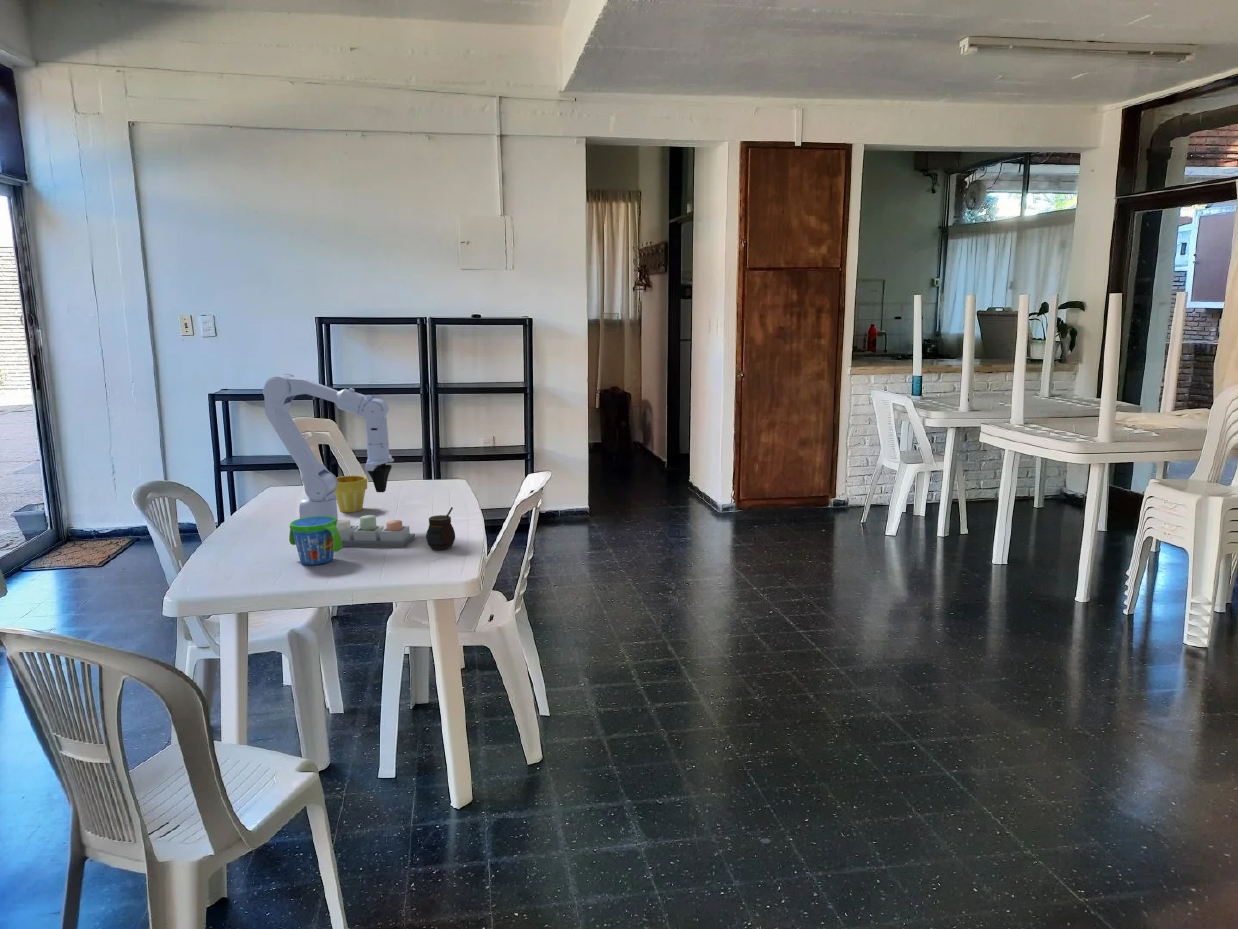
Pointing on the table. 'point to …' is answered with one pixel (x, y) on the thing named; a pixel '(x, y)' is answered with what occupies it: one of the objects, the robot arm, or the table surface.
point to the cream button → (343, 525)
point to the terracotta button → (394, 525)
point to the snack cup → (315, 539)
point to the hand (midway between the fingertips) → (381, 491)
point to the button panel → (376, 537)
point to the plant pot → (350, 493)
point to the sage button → (368, 523)
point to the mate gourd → (440, 532)
